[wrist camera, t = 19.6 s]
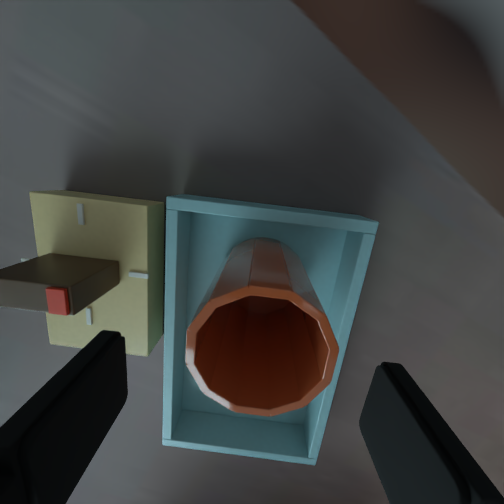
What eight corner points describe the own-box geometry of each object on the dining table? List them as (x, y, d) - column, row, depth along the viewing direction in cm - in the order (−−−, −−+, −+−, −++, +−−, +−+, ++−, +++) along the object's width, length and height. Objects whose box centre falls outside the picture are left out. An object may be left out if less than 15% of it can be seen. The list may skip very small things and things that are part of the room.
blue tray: (183, 193, 19) (165, 196, 15) (359, 215, 19) (379, 221, 15) (175, 410, 25) (162, 445, 21) (308, 428, 25) (315, 466, 21)
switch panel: (50, 188, 19) (9, 189, 16) (166, 202, 19) (147, 206, 16) (65, 322, 22) (34, 343, 19) (164, 334, 22) (148, 358, 19)
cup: (224, 232, 19) (188, 277, 10) (310, 242, 19) (353, 298, 10) (218, 308, 21) (182, 406, 12) (295, 318, 21) (321, 424, 12)
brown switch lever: (53, 275, 18) (-20, 307, 13) (49, 252, 17) (-27, 277, 13) (120, 283, 18) (70, 318, 13) (119, 260, 17) (67, 288, 13)
